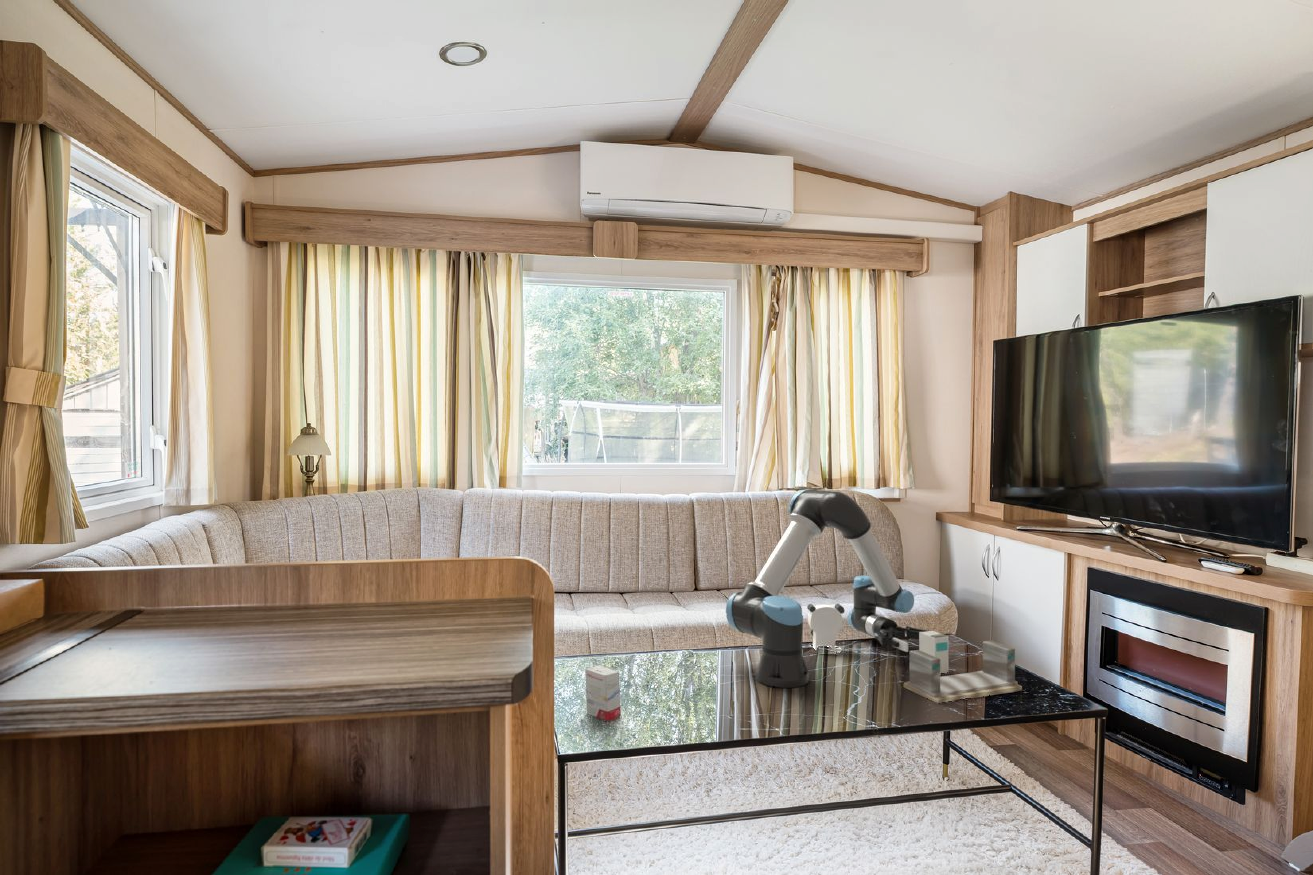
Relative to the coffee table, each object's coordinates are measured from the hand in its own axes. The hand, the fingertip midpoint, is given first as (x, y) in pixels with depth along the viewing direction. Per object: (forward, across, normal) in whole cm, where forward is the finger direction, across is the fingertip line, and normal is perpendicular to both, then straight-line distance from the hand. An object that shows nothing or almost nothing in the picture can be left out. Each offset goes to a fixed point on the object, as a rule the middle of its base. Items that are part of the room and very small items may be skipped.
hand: (925, 645), depth 234 cm
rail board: (+20, +4, -6) cm, 22 cm away
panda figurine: (-26, +19, -7) cm, 33 cm away
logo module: (+4, +1, -6) cm, 8 cm away
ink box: (+3, +105, -7) cm, 105 cm away
